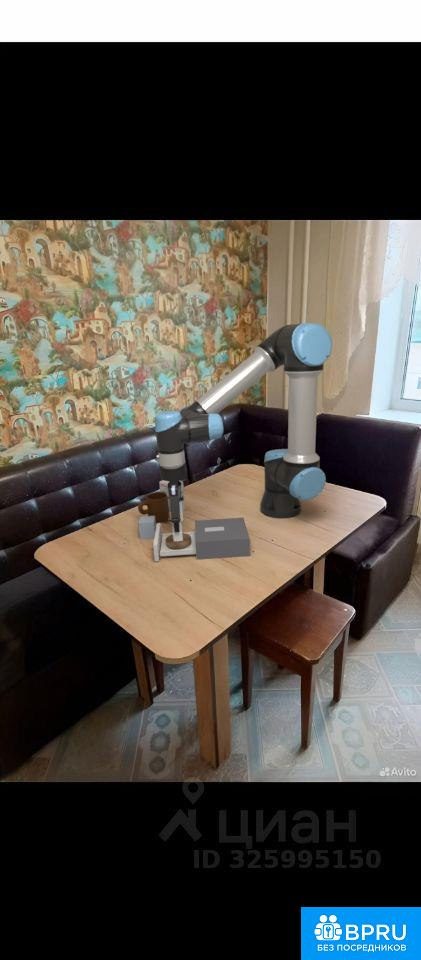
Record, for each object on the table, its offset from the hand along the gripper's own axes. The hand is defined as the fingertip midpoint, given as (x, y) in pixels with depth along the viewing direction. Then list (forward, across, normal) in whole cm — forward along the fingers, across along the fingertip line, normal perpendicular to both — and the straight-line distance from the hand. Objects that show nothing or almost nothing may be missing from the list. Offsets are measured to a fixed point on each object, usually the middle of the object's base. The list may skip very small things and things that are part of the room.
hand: (178, 530), depth 126 cm
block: (+6, -10, -11) cm, 16 cm away
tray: (+6, 0, 0) cm, 6 cm away
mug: (+6, -21, -10) cm, 25 cm away
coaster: (+4, 0, 0) cm, 5 cm away
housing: (+6, 0, +13) cm, 14 cm away
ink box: (+7, -31, -3) cm, 32 cm away
